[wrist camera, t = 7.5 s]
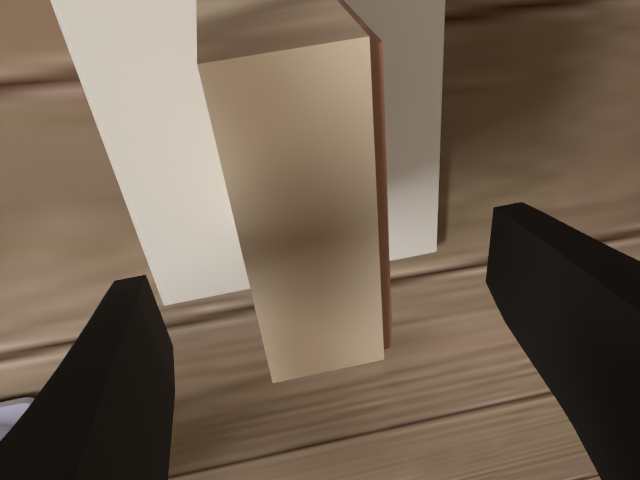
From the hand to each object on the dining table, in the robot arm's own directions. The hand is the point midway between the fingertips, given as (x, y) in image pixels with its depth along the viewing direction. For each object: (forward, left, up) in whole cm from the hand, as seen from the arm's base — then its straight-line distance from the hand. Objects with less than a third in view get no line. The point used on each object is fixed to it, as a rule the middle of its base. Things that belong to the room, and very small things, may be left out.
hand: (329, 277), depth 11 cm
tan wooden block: (0, 0, -10) cm, 10 cm away
